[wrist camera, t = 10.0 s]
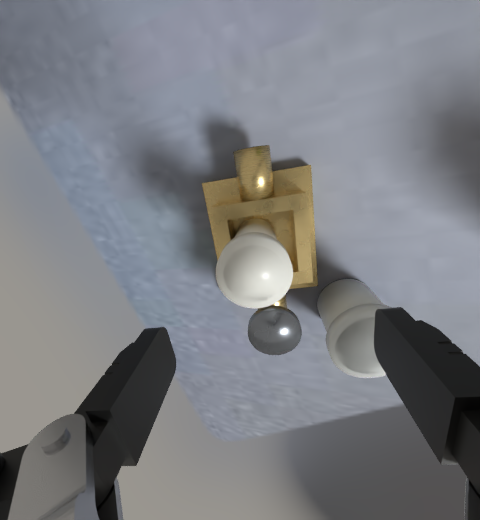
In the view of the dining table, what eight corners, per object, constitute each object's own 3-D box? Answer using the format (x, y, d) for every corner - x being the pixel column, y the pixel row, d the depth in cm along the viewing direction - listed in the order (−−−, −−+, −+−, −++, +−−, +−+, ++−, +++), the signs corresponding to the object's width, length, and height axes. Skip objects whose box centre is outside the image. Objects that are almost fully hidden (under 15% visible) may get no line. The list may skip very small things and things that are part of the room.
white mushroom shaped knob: (226, 217, 24) (208, 243, 15) (277, 209, 23) (288, 232, 14) (235, 264, 25) (223, 311, 17) (283, 258, 25) (296, 304, 16)
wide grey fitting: (308, 280, 26) (325, 318, 20) (376, 269, 25) (417, 305, 19) (316, 332, 29) (333, 382, 22) (378, 324, 28) (415, 373, 21)
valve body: (199, 160, 23) (173, 156, 16) (307, 141, 22) (331, 127, 14) (230, 312, 28) (220, 359, 21) (316, 303, 27) (337, 350, 20)
